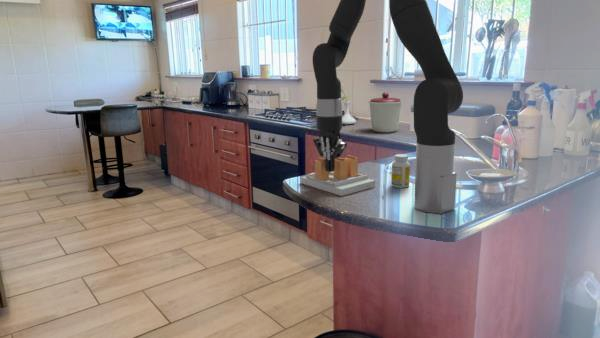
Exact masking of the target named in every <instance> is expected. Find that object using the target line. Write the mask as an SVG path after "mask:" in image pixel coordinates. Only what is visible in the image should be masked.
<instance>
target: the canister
mask: <svg viewBox="0 0 600 338" xmlns="http://www.w3.org/2000/svg"><path fill="white" fill-rule="evenodd" d="M381 94H382V95H381V96H382V97H376V98H375V97H374V98H371V99H370V100H369V101H368V104H369V112H370V121H371V122H370V123H371V128H372V131H374V132H376V133H382V134H383V133H385V134H387V133H388V134H389V133H394V132H396V131H397V130H398V127H399V122H400V117H401V116H400V115H401V109H402V103H403V100H401V99H400V98H398V97H390V95H389V92H383V93H381Z"/></svg>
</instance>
